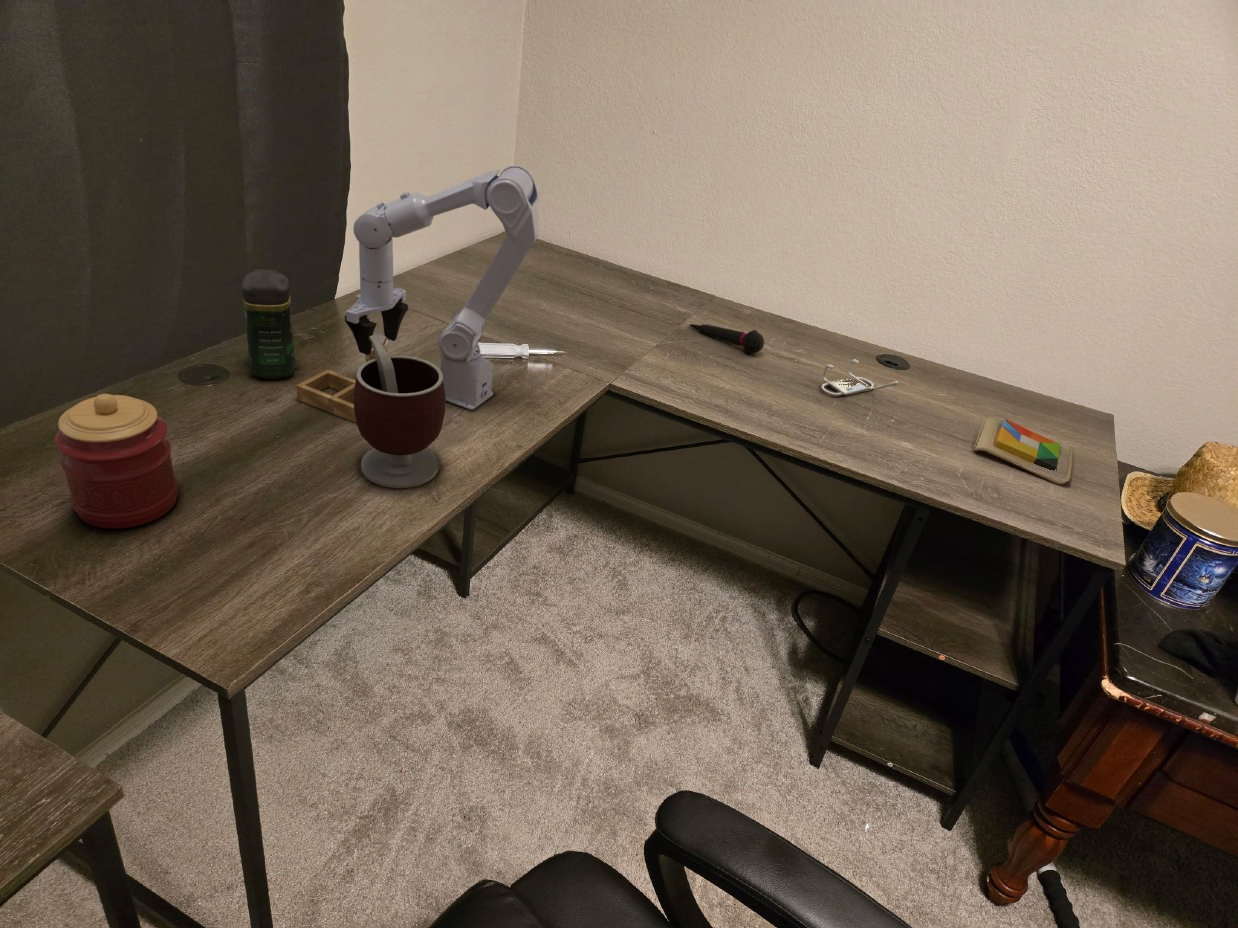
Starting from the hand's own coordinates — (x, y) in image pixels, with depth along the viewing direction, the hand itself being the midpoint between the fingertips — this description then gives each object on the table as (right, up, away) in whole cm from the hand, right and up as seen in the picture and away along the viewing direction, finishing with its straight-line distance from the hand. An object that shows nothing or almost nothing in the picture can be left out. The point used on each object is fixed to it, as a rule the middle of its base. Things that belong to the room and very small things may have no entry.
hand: (378, 345), depth 149 cm
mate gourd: (+9, -22, -18) cm, 30 cm away
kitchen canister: (-25, -28, -36) cm, 52 cm away
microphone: (+72, +8, +45) cm, 85 cm away
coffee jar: (-20, -4, +1) cm, 21 cm away
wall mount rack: (+99, -6, +32) cm, 105 cm away
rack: (-4, -11, -5) cm, 13 cm away
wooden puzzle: (+132, -20, +20) cm, 135 cm away
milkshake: (-1, -6, +4) cm, 7 cm away
